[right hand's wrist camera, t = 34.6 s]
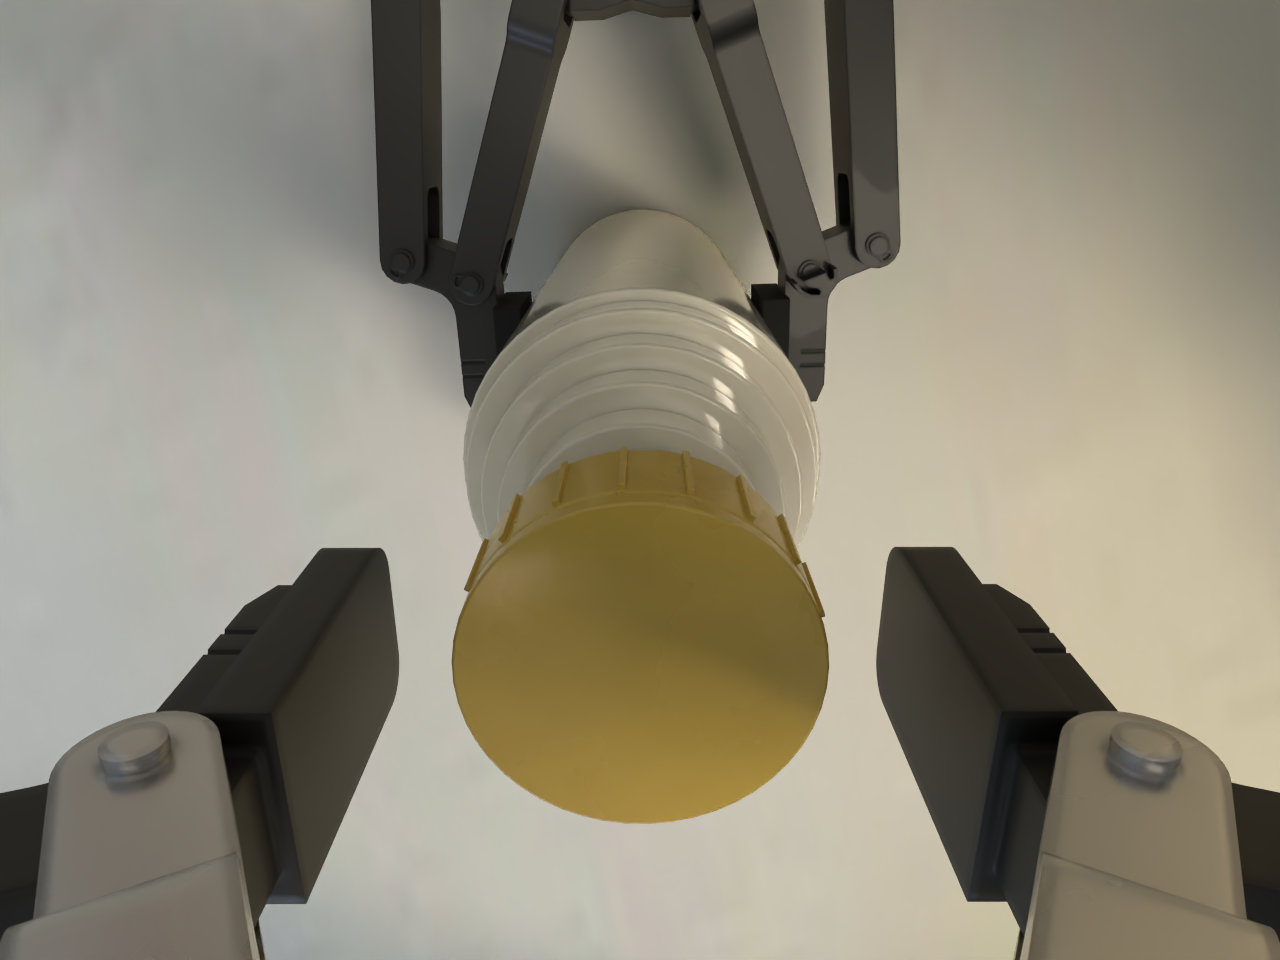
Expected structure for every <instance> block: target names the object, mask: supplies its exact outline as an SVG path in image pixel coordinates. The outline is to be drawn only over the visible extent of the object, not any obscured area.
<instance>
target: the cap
mask: <svg viewBox="0 0 1280 960" xmlns="http://www.w3.org/2000/svg"><path fill="white" fill-rule="evenodd" d="M464 590H465V591H468V592H469V593H468V595H467V598H466V601H465V603H464V606H463V608H462V611H461V614H460V616H459V619H458V623H457V627H456V631H455V636H454V640H453V652H452V671H453V683H454V687H455V692H456V696H457V701H458V704H459V706H460V709H461V712H462V714H463V717H464V719H465V722H466V724H467V726H468V728H469V729H470V731H471V733H472V735H473V737H474V738H475V740H476V742H477V743H478V744H479V746H480V747H481V748H482V750H483V751H484V752H485V754H486V755H487V756H488V758H489V759H490V760H491V761H492V762H493V763H494V764H495V765H496V766H497V767H498V768H499V769H500V770H501V771H502V772H503V773H504V774H505V775H506V776H508V777H509V778H510V779H511V780H513V781H514V782H515V783H516V784H518V785H519V786H520V787H522V788H523V789H525V790H526V791H528V792H530V793H531V794H533V795H535V796H536V797H538V798H539V799H541V800H544V801H546V802H548V803H550V804H552V805H554V806H556V807H558V808H561V809H564V810H567V811H569V812H572V813H575V814H578V815H581V816H585V817H590V818H594V819H599V820H603V821H611V822H619V823H637V824H651V823H662V822H673V821H678V820H683V819H688V818H693V817H697V816H700V815H703V814H706V813H710V812H713V811H716V810H718V809H721V808H723V807H725V806H728V805H730V804H732V803H734V802H737V801H738V800H740V799H742V798H744V797H745V796H747V795H749V794H751V793H752V792H754V791H756V790H757V789H758V788H760V787H761V786H762V785H764V784H765V783H766V782H768V781H769V780H770V779H772V778H773V777H774V776H775V775H776V774H777V773H778V772H779V771H780V770H781V769H783V768H784V767H785V766H786V765H787V764H788V763H789V761H790V760H791V759H792V758H793V757H794V755H795V754H796V753H797V752H798V750H799V749H800V748H801V747H802V745H803V743H804V742H805V740H806V739H807V737H808V735H809V734H810V732H811V730H812V729H813V726H814V724H815V722H816V720H817V717H818V715H819V713H820V710H821V708H822V704H823V700H824V696H825V693H826V689H827V681H828V672H829V654H828V643H827V638H826V633H825V628H824V624H823V621H822V618H821V617H825V613H824V610H823V607H822V604H821V602H820V599H819V597H818V594H817V591H816V589H815V586H814V583H813V581H812V578H811V575H810V573H809V570H808V567H807V565H806V562H804V563H801V559H800V556H799V554H798V551H797V548H796V545H795V543H794V540H793V537H792V534H791V532H790V529H789V526H788V524H787V521H786V518H785V516H784V515H783V514H780V515H777V514H776V512H775V511H774V510H773V508H772V507H771V506H770V505H769V504H768V503H767V502H766V501H765V500H764V499H763V498H762V497H761V496H760V495H759V494H758V493H757V492H756V491H755V490H754V489H752V488H751V487H750V486H748V485H747V483H746V480H745V477H744V476H742V475H741V474H739V475H738V477H736V476H734V475H732V474H730V473H729V472H727V471H725V470H723V469H722V468H720V467H717V466H715V465H713V464H710V463H708V462H705V461H703V460H700V459H697V458H694V457H691V456H690V452H688V451H683V453H682V454H679V453H673V452H665V451H658V450H628V448H627V446H621V449H620V451H615V452H608V453H603V454H599V455H595V456H591V457H587V458H584V459H581V460H579V461H576V462H573V463H571V464H569V463H568V461H565V462H562V463H561V466H560V469H558V470H556V471H554V472H552V473H551V474H549V475H547V476H545V477H544V478H543V479H541V480H540V481H538V482H537V483H536V484H534V485H533V486H531V487H530V488H529V489H528V490H527V491H525V492H524V493H523V494H522V495H521V496H520V495H519V494H518V493H517V494H516V495H515V496H514V497H513V499H512V502H511V504H510V507H509V509H508V510H507V512H506V513H505V514H504V515H503V517H502V518H501V519H500V521H499V523H498V524H497V526H496V528H495V529H494V531H493V533H492V534H491V536H490V539H489V540H488V539H486V538H484V540H483V543H482V545H481V548H480V550H479V553H478V555H477V558H476V560H475V563H474V565H473V568H472V570H471V573H470V575H469V578H468V581H467V583H466V586H465V588H464Z"/></svg>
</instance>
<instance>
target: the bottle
mask: <svg viewBox="0 0 1280 960" xmlns="http://www.w3.org/2000/svg"><path fill="white" fill-rule="evenodd" d="M621 446H627V448H628V450H658V451H665V452H673V453H679V454H682V453H683V451H688V452H690V456H691V457H694V458H697V459H700V460H703V461H705V462H708V463H710V464H713V465H715V466H717V467H720V468H722V469H723V470H725V471H727V472H729V473H730V474H732V475H734V476H736V477H738V475H739V474H741V475H742V476H744V477H745V480H746V483H747V485H748V486H750V487H751V488H752V489H754V490H755V491H756V492H757V493H758V494H759V495H760V496H761V497H762V498H763V499H764V500H765V501H766V502H767V503H768V504H769V505H770V506H771V507H772V508H773V510H774V511H775V512H776V514H777V515H780V514H783V515H784V516H785V518H786V521H787V524H788V526H789V529H790V532H791V534H792V537H793V540H794V543H795V545H796V548H798V546H799V544H800V542H801V540H802V538H803V536H804V535H805V532H806V529H807V526H808V524H809V521H810V518H811V515H812V511H813V507H814V502H815V497H816V491H817V484H818V480H819V470H820V456H821V455H820V441H819V431H818V426H817V422H816V417H815V412H814V409H813V407H812V404H811V401H810V398H809V396H808V393H807V390H806V388H805V386H804V385H803V383H802V381H801V379H800V377H799V375H798V373H797V372H796V370H795V368H794V367H793V365H792V363H791V362H790V360H789V359H788V357H787V356H786V354H785V352H784V351H783V349H782V348H781V346H780V345H779V343H778V341H777V340H776V338H775V337H774V335H773V334H772V332H771V330H770V329H769V327H768V326H767V324H766V323H765V321H764V319H763V318H762V316H761V315H760V313H759V312H758V310H757V308H756V307H755V305H754V304H753V302H752V301H751V299H750V297H749V296H748V294H747V293H746V291H745V290H744V288H743V286H742V285H741V283H740V282H739V280H738V279H737V277H736V275H735V274H734V272H733V271H732V269H731V268H730V266H729V264H728V263H727V261H726V260H725V258H724V257H723V255H722V253H721V252H720V251H719V249H718V248H717V246H716V245H715V244H714V242H713V241H712V240H711V239H710V238H709V237H708V236H707V235H706V234H705V233H704V232H703V231H701V230H700V229H699V228H698V227H696V226H695V225H693V224H692V223H690V222H688V221H687V220H685V219H683V218H681V217H678V216H676V215H673V214H670V213H666V212H663V211H657V210H649V209H640V210H629V211H623V212H620V213H616V214H613V215H610V216H608V217H606V218H603V219H601V220H599V221H598V222H596V223H594V224H593V225H591V226H590V227H588V228H587V229H586V230H585V231H584V232H582V233H581V234H580V235H579V236H578V237H577V238H576V239H575V240H574V241H573V243H572V244H571V245H570V246H569V248H568V249H567V251H566V252H565V254H564V255H563V257H562V258H561V260H560V261H559V263H558V264H557V266H556V267H555V269H554V270H553V272H552V273H551V275H550V276H549V278H548V280H547V281H546V283H545V284H544V286H543V287H542V289H541V290H540V292H539V293H538V295H537V296H536V298H535V299H534V301H533V302H532V304H531V305H530V307H529V308H528V310H527V312H526V313H525V315H524V316H523V318H522V319H521V321H520V322H519V324H518V325H517V327H516V328H515V330H514V331H513V333H512V334H511V336H510V337H509V339H508V341H507V342H506V344H505V345H504V347H503V348H502V350H501V351H500V353H499V354H498V356H497V357H496V359H495V360H494V362H493V363H492V365H491V366H490V368H489V369H488V371H487V373H486V375H485V377H484V378H483V380H482V382H481V384H480V386H479V388H478V390H477V392H476V395H475V398H474V400H473V403H472V406H471V409H470V412H469V416H468V421H467V426H466V431H465V437H464V456H463V459H464V471H465V481H466V485H467V493H468V499H469V503H470V508H471V512H472V516H473V519H474V522H475V524H476V527H477V530H478V532H479V535H480V537H481V539H482V541H483V540H484V538H486V539H488V540H489V539H490V536H491V534H492V533H493V531H494V529H495V528H496V526H497V524H498V523H499V521H500V519H501V518H502V517H503V515H504V514H505V513H506V512H507V510H508V509H509V507H510V504H511V502H512V499H513V497H514V496H515V495H516V494H517V493H518V494H519V495H520V496H521V495H522V494H523V493H524V492H525V491H527V490H528V489H529V488H530V487H531V486H533V485H534V484H536V483H537V482H538V481H540V480H541V479H543V478H544V477H545V476H547V475H549V474H551V473H552V472H554V471H556V470H558V469H560V466H561V463H562V462H565V461H568V463H569V464H571V463H573V462H576V461H579V460H581V459H584V458H587V457H591V456H595V455H599V454H603V453H608V452H615V451H620V449H621Z"/></svg>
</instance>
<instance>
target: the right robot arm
mask: <svg viewBox="0 0 1280 960" xmlns="http://www.w3.org/2000/svg"><path fill="white" fill-rule="evenodd" d="M876 667H877V680H878V687H879V692H880V696H881V699H882V702H883V705H884V707H885V709H886V712H887V714H888V716H889V719H890V721H891V723H892V726H893V728H894V730H895V733H896V735H897V737H898V740H899V742H900V745H901V747H902V749H903V752H904V754H905V756H906V759H907V761H908V763H909V766H910V768H911V770H912V773H913V775H914V777H915V780H916V782H917V784H918V787H919V789H920V791H921V794H922V796H923V798H924V801H925V803H926V806H927V808H928V810H929V813H930V815H931V817H932V820H933V822H934V824H935V827H936V829H937V831H938V834H939V836H940V838H941V841H942V843H943V845H944V848H945V850H946V852H947V855H948V857H949V860H950V862H951V864H952V867H953V869H954V871H955V874H956V876H957V878H958V881H959V883H960V885H961V888H962V890H963V892H964V895H965V897H966V899H967V902H1008V904H1009V906H1010V908H1011V910H1012V913H1013V915H1014V917H1015V919H1016V921H1017V923H1018V925H1019V927H1020V929H1019V934H1018V939H1017V943H1016V948H1015V954H1014V960H1280V793H1278V792H1273V791H1269V790H1264V789H1259V788H1254V787H1249V786H1244V785H1239V784H1235V783H1231V779H1230V775H1229V772H1228V770H1227V768H1226V767H1225V765H1224V763H1223V762H1222V761H1221V760H1220V759H1219V757H1218V756H1217V755H1216V754H1215V753H1214V752H1213V751H1211V750H1210V749H1209V748H1208V747H1207V746H1206V745H1204V744H1203V743H1201V742H1200V741H1199V740H1197V739H1196V738H1194V737H1192V736H1191V735H1189V734H1187V733H1186V732H1184V731H1182V730H1180V729H1178V728H1175V727H1173V726H1171V725H1169V724H1166V723H1164V722H1161V721H1158V720H1155V719H1152V718H1149V717H1145V716H1141V715H1137V714H1132V713H1126V712H1119V711H1117V709H1116V708H1115V707H1114V706H1113V705H1112V703H1111V702H1110V701H1109V700H1108V698H1107V697H1106V696H1105V695H1104V694H1103V692H1102V691H1101V690H1100V689H1099V688H1098V686H1097V685H1096V684H1095V683H1094V682H1093V680H1092V679H1091V678H1090V677H1089V676H1088V674H1087V673H1086V672H1085V671H1084V669H1083V668H1082V667H1081V666H1080V665H1079V663H1078V662H1077V661H1076V660H1075V659H1074V657H1073V656H1072V655H1071V654H1070V653H1066V648H1065V646H1064V645H1063V644H1062V643H1061V642H1060V640H1059V639H1058V638H1057V637H1056V636H1055V634H1054V633H1050V632H1049V627H1048V626H1047V625H1046V623H1045V622H1044V621H1043V620H1042V619H1041V617H1040V616H1039V615H1038V614H1037V613H1036V611H1035V610H1034V609H1033V608H1032V607H1031V605H1030V604H1028V603H1026V602H1025V601H1023V600H1022V599H1020V598H1018V597H1017V596H1015V595H1013V594H1012V593H1010V592H1009V591H1007V590H1005V589H1004V588H1002V587H1000V586H999V585H997V584H982V583H981V582H980V580H979V579H978V578H977V577H976V575H975V574H974V573H973V571H972V570H971V569H970V567H969V566H968V565H967V563H966V562H965V561H964V559H963V558H962V557H961V555H960V554H959V553H958V551H957V550H956V549H955V548H953V547H894V548H893V549H892V550H891V552H890V554H889V557H888V561H887V567H886V575H885V584H884V593H883V602H882V611H881V619H880V628H879V637H878V646H877V659H876ZM398 677H399V652H398V643H397V634H396V625H395V617H394V608H393V599H392V591H391V582H390V573H389V566H388V561H387V557H386V554H385V552H384V551H383V550H382V549H381V548H322V549H320V550H319V551H318V552H317V554H316V555H315V556H314V558H313V559H312V560H311V561H310V563H309V564H308V565H307V567H306V568H305V569H304V571H303V572H302V573H301V574H300V576H299V577H298V578H297V580H296V581H295V582H294V584H293V585H278V586H276V587H275V588H273V589H271V590H270V591H268V592H266V593H265V594H263V595H261V596H260V597H258V598H257V599H255V600H253V601H252V602H250V603H248V604H247V605H245V606H244V607H243V608H242V609H241V611H240V612H239V613H238V614H237V615H236V617H235V618H234V619H233V620H232V621H231V623H230V624H229V625H228V626H227V627H226V629H225V634H221V635H220V636H219V637H218V638H217V639H216V641H215V642H214V643H213V644H212V645H211V647H210V648H209V649H208V655H203V656H202V657H201V659H200V660H199V661H198V662H197V663H196V664H195V666H194V667H193V668H192V669H191V670H190V672H189V673H188V674H187V675H186V676H185V678H184V679H183V680H182V681H181V682H180V684H179V685H178V686H177V687H176V688H175V690H174V691H173V692H172V693H171V694H170V696H169V697H168V698H167V699H166V700H165V702H164V703H163V704H162V705H161V706H160V708H159V709H158V710H157V711H156V712H154V713H148V714H143V715H139V716H135V717H131V718H128V719H125V720H122V721H119V722H116V723H114V724H111V725H109V726H107V727H105V728H102V729H100V730H98V731H96V732H94V733H93V734H91V735H89V736H88V737H86V738H84V739H83V740H81V741H80V742H79V743H77V744H76V745H74V746H73V747H72V748H71V749H70V750H69V751H67V752H66V753H65V754H64V755H63V756H62V757H61V759H60V760H59V761H58V762H57V763H56V765H55V767H54V768H53V770H52V772H51V775H50V779H49V783H46V784H42V785H38V786H34V787H29V788H24V789H19V790H14V791H10V792H5V793H0V960H266V954H265V948H264V943H263V939H262V934H261V929H260V924H259V917H260V915H261V913H262V911H263V909H264V907H265V905H266V904H306V903H307V901H308V898H309V896H310V894H311V891H312V889H313V887H314V885H315V882H316V880H317V878H318V875H319V873H320V871H321V868H322V866H323V864H324V861H325V859H326V857H327V855H328V852H329V850H330V848H331V845H332V843H333V841H334V838H335V836H336V834H337V831H338V829H339V827H340V824H341V822H342V820H343V818H344V815H345V813H346V811H347V808H348V806H349V804H350V801H351V799H352V797H353V794H354V792H355V790H356V788H357V785H358V783H359V781H360V778H361V776H362V774H363V771H364V769H365V767H366V764H367V762H368V760H369V758H370V755H371V753H372V751H373V748H374V746H375V744H376V741H377V739H378V737H379V734H380V732H381V730H382V728H383V725H384V723H385V721H386V718H387V716H388V714H389V711H390V709H391V707H392V704H393V702H394V699H395V695H396V691H397V685H398Z"/></svg>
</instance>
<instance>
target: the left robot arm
mask: <svg viewBox="0 0 1280 960" xmlns="http://www.w3.org/2000/svg"><path fill="white" fill-rule="evenodd" d="M824 4H825V23H826V41H827V60H828V78H829V96H830V115H831V133H832V152H833V170H834V188H835V207H836V225H837V226H834V227H832V228H830V229H827V230H825V231H821V228H820V225H819V222H818V218H817V215H816V212H815V209H814V206H813V202H812V199H811V196H810V193H809V189H808V186H807V183H806V180H805V176H804V173H803V170H802V167H801V164H800V160H799V157H798V154H797V151H796V147H795V144H794V141H793V138H792V135H791V131H790V128H789V125H788V122H787V118H786V115H785V112H784V109H783V106H782V102H781V99H780V96H779V93H778V89H777V86H776V83H775V80H774V77H773V73H772V70H771V67H770V64H769V60H768V57H767V54H766V51H765V47H764V44H763V41H762V38H761V34H760V31H759V26H758V18H757V13H756V9H755V5H754V1H753V0H512V4H511V8H510V12H509V17H508V23H507V37H506V43H505V47H504V51H503V55H502V60H501V64H500V68H499V72H498V76H497V80H496V85H495V89H494V93H493V97H492V101H491V106H490V110H489V114H488V118H487V122H486V126H485V131H484V135H483V139H482V143H481V147H480V151H479V156H478V160H477V164H476V168H475V172H474V176H473V181H472V185H471V189H470V193H469V197H468V202H467V206H466V210H465V214H464V218H463V222H462V227H461V231H460V235H459V239H458V243H457V244H456V243H453V242H450V241H447V240H444V239H443V211H442V102H441V9H440V0H371V14H372V43H373V72H374V101H375V130H376V159H377V188H378V217H379V246H380V262H381V267H382V270H383V271H384V273H385V274H386V276H387V277H388V278H390V279H391V280H393V281H394V282H397V283H401V284H407V283H412V284H415V285H419V286H422V287H425V288H428V289H431V290H434V291H436V292H439V293H441V294H442V295H443V296H445V297H446V298H447V299H448V300H449V301H450V303H451V304H452V306H453V308H454V310H455V314H456V321H457V330H458V339H459V349H460V358H461V367H462V375H463V386H464V395H465V398H466V400H467V401H468V403H469V405H470V407H471V406H472V403H473V400H474V398H475V395H476V392H477V390H478V388H479V386H480V384H481V382H482V380H483V378H484V377H485V375H486V373H487V371H488V369H489V368H490V366H491V365H492V363H493V362H494V360H495V359H496V357H497V356H498V354H499V353H500V351H501V350H502V348H503V347H504V345H505V344H506V342H507V341H508V339H509V337H510V336H511V334H512V333H513V331H514V330H515V328H516V327H517V325H518V324H519V322H520V321H521V319H522V318H523V316H524V315H525V313H526V312H527V310H528V308H529V307H530V305H531V304H532V298H531V292H506V293H505V295H504V284H503V282H504V281H505V279H506V277H507V275H508V273H506V270H507V266H508V263H509V259H510V255H511V251H512V247H513V244H514V240H515V236H516V232H517V228H518V224H519V221H520V217H521V213H522V209H523V205H524V202H525V198H526V194H527V190H528V186H529V182H530V179H531V175H532V171H533V167H534V163H535V160H536V156H537V152H538V148H539V144H540V140H541V137H542V133H543V129H544V125H545V121H546V118H547V114H548V110H549V106H550V102H551V98H552V95H553V91H554V87H555V83H556V79H557V76H558V72H559V68H560V64H561V61H562V59H563V56H564V54H565V51H566V48H567V44H568V41H569V37H570V33H571V29H572V25H573V22H574V20H575V21H585V20H604V19H607V18H610V17H613V16H616V15H619V14H622V13H625V12H628V11H631V10H634V11H638V12H642V13H646V14H650V15H653V16H657V17H661V18H667V17H690V15H691V16H692V19H693V22H694V25H695V28H696V31H697V34H698V37H699V40H700V43H701V46H702V48H703V50H704V52H705V54H706V57H707V59H708V62H709V65H710V68H711V71H712V74H713V77H714V80H715V83H716V86H717V89H718V92H719V95H720V98H721V101H722V104H723V107H724V110H725V113H726V116H727V119H728V122H729V125H730V128H731V131H732V134H733V137H734V140H735V143H736V146H737V149H738V152H739V155H740V159H741V162H742V165H743V168H744V171H745V174H746V177H747V180H748V183H749V186H750V189H751V192H752V195H753V198H754V201H755V204H756V207H757V210H758V213H759V216H760V219H761V222H762V225H763V228H764V231H765V234H766V237H767V240H768V243H769V246H770V249H771V252H772V255H773V258H774V261H775V264H776V267H777V269H778V285H777V284H751V301H752V302H753V304H754V305H755V307H756V308H757V310H758V312H759V313H760V315H761V316H762V318H763V319H764V321H765V323H766V324H767V326H768V327H769V329H770V330H771V332H772V334H773V335H774V337H775V338H776V340H777V341H778V343H779V345H780V346H781V348H782V349H783V351H784V352H785V354H786V356H787V357H788V359H789V360H790V362H791V363H792V365H793V367H794V368H795V370H796V372H797V373H798V375H799V377H800V379H801V381H802V383H803V385H804V386H805V388H806V390H807V393H808V396H809V398H810V401H817V399H818V396H819V394H820V392H821V390H822V387H823V385H824V370H825V366H824V364H825V347H826V325H827V304H828V298H829V295H830V293H831V291H832V290H833V289H834V287H835V286H836V284H837V283H839V282H840V281H841V280H843V279H844V278H846V277H848V276H851V275H854V274H856V273H859V272H861V271H864V270H866V269H869V268H881V267H884V266H887V265H888V264H889V263H891V262H892V261H893V260H894V259H895V257H896V256H897V254H898V252H899V248H900V214H899V180H898V146H897V112H896V78H895V44H894V9H893V0H824Z"/></svg>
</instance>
